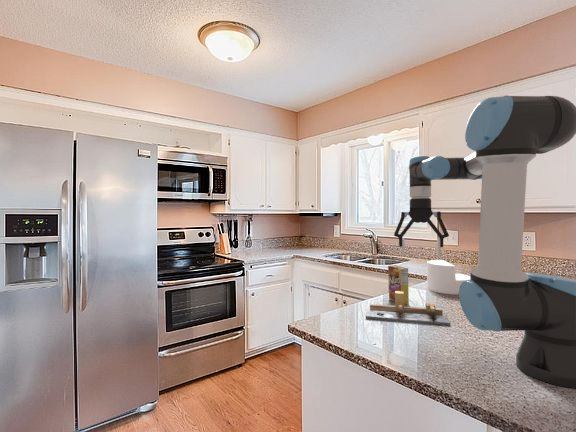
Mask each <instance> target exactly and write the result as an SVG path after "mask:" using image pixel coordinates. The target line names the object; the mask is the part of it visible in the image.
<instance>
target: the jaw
mask: <svg viewBox="0 0 576 432" xmlns="http://www.w3.org/2000/svg"><path fill="white" fill-rule="evenodd" d="M394 305H395V307H396V312H399V315H401V312H402V313H404V306H405V305H404V292H403V291H395V302H394Z"/></svg>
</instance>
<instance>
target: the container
mask: <svg viewBox="0 0 576 432" xmlns="http://www.w3.org/2000/svg"><path fill="white" fill-rule="evenodd" d="M456 271H457V270H456V265H455V264H452V263H450V262H448V261H446V260H444V259H432V260H427V262H426V278H427V279H426V281H427V282H426V283H427V284H426V287H427V290H429V291H431V292H434V293H438V294H439V293H440V294H444V295H459V288H460V285H461V284H462V282H464V281H466V280H470V275H467V274H463V273H456Z"/></svg>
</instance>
